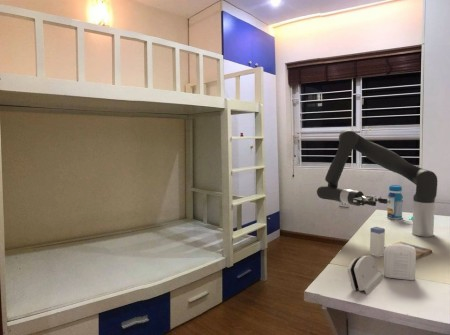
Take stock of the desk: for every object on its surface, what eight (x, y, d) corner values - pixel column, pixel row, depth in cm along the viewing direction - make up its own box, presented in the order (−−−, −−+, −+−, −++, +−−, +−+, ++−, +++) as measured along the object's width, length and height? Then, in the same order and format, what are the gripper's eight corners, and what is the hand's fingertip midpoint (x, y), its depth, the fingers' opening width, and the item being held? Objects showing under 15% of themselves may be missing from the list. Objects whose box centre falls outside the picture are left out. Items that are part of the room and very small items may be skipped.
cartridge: (375, 252, 143) (376, 226, 142) (384, 254, 140) (384, 228, 138) (369, 254, 141) (370, 228, 140) (378, 256, 138) (379, 230, 136)
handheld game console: (434, 217, 200) (434, 215, 200) (427, 223, 188) (427, 220, 188) (416, 215, 207) (416, 213, 207) (408, 220, 195) (408, 218, 195)
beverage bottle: (401, 220, 194) (402, 187, 192) (386, 218, 198) (386, 186, 196) (402, 217, 201) (403, 185, 199) (387, 215, 205) (388, 184, 204)
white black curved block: (367, 295, 105) (357, 264, 107) (353, 295, 108) (344, 265, 110) (384, 277, 117) (375, 250, 119) (371, 278, 121) (362, 252, 122)
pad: (400, 243, 153) (400, 241, 153) (432, 252, 141) (432, 249, 141) (382, 249, 146) (382, 247, 145) (414, 259, 134) (414, 256, 133)
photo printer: (413, 276, 118) (414, 243, 117) (416, 281, 114) (417, 247, 113) (382, 273, 121) (383, 241, 120) (384, 278, 117) (385, 245, 116)
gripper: (342, 191, 160) (372, 196, 147) (360, 188, 168) (390, 193, 154) (342, 206, 161) (371, 212, 147) (360, 202, 168) (390, 208, 155)
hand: (381, 202), depth 151 cm, fingers open, 8 cm apart
